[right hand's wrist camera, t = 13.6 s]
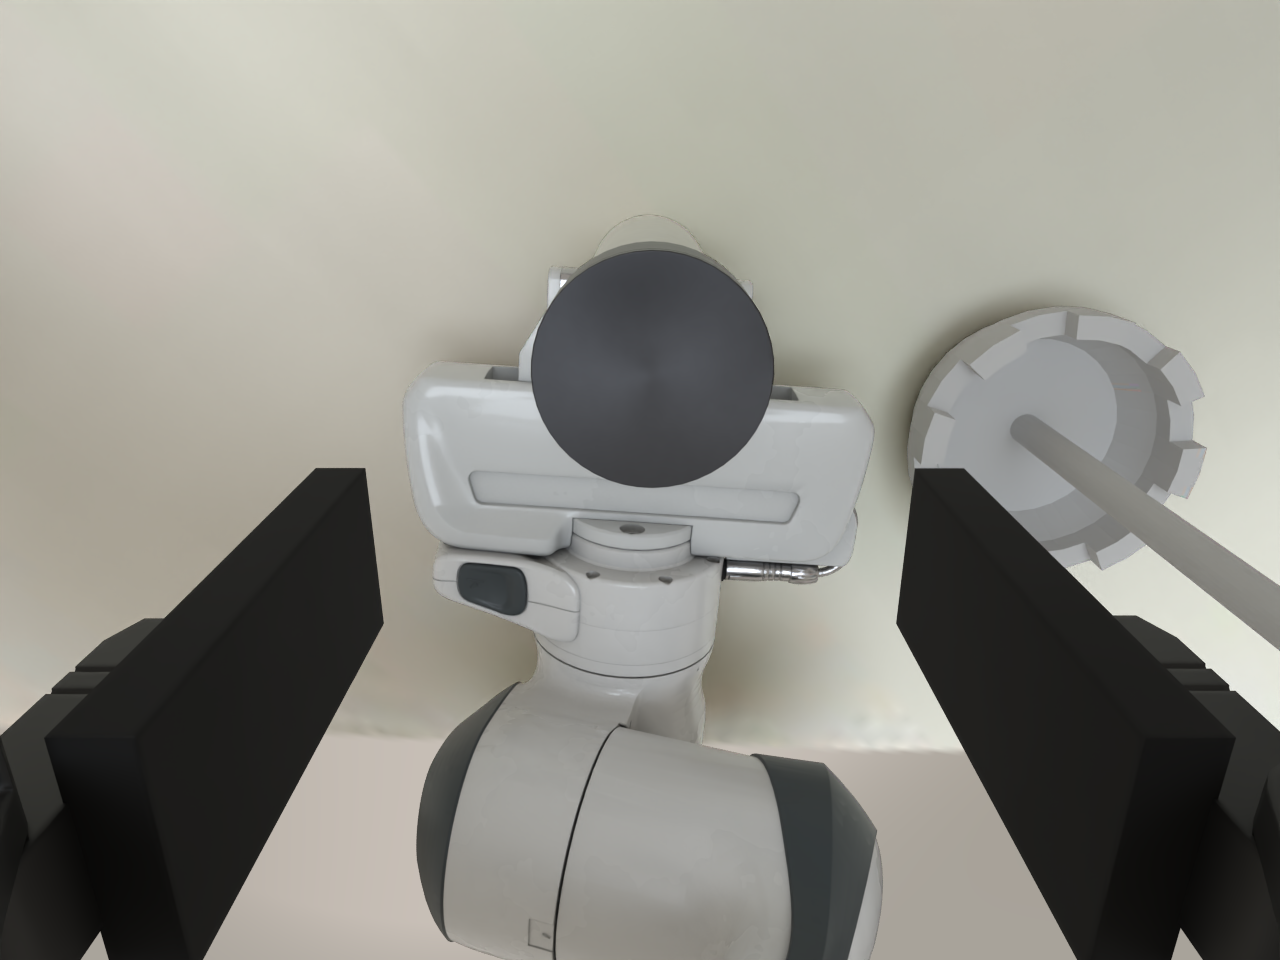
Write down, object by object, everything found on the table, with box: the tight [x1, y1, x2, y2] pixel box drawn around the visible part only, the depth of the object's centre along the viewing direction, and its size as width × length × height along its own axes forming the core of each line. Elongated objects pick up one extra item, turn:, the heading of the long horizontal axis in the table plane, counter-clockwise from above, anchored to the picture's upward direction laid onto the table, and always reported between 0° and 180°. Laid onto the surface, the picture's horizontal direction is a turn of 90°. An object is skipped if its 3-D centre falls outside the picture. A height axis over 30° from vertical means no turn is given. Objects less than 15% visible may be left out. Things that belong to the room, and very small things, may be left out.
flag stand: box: [907, 306, 1280, 650], centre depth 31 cm, size 13×13×30 cm
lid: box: [531, 241, 774, 488], centre depth 25 cm, size 7×7×2 cm
